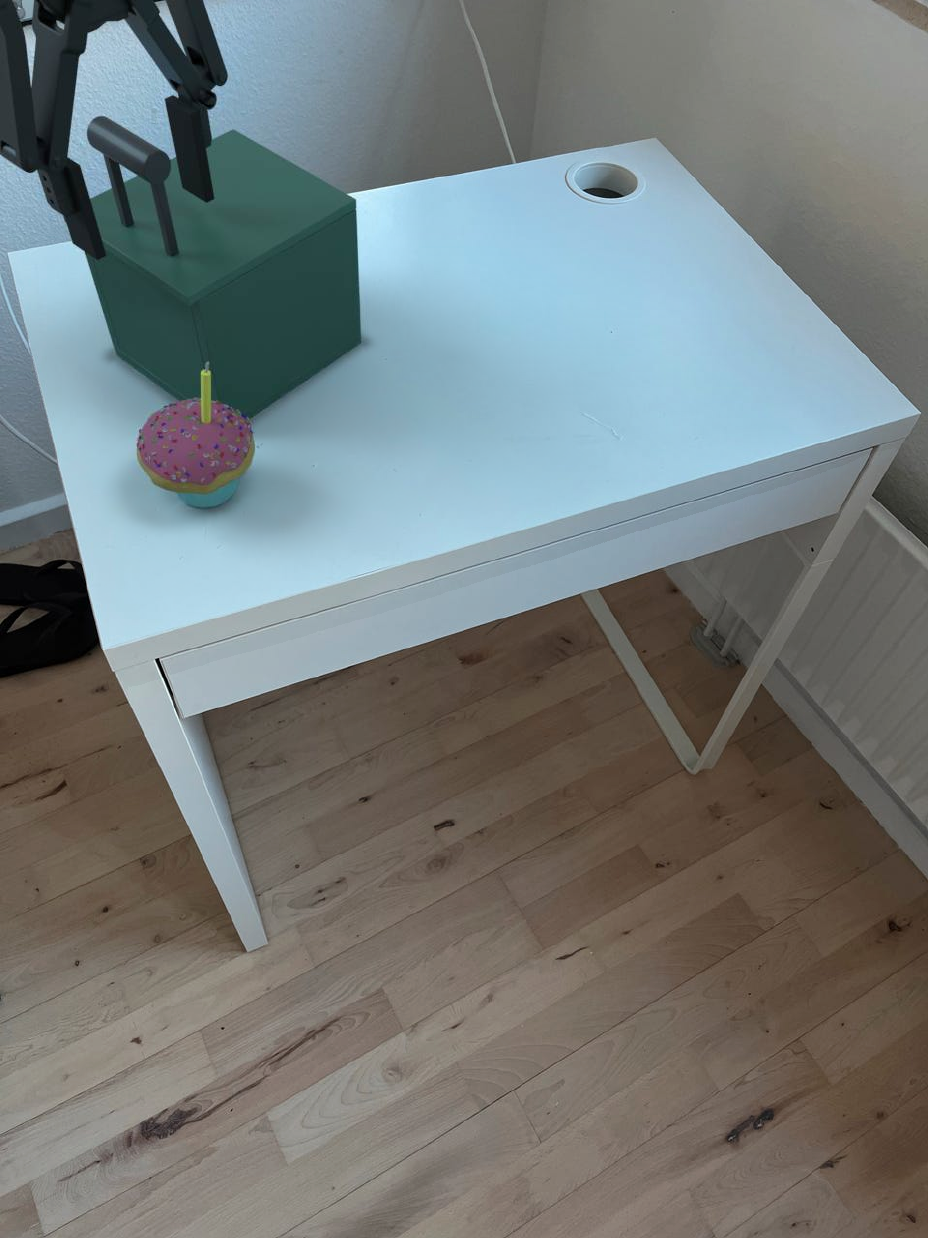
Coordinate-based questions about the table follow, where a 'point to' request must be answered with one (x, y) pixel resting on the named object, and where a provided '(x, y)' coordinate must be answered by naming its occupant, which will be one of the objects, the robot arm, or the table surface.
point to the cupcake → (197, 448)
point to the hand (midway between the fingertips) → (145, 220)
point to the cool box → (241, 321)
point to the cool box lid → (205, 210)
